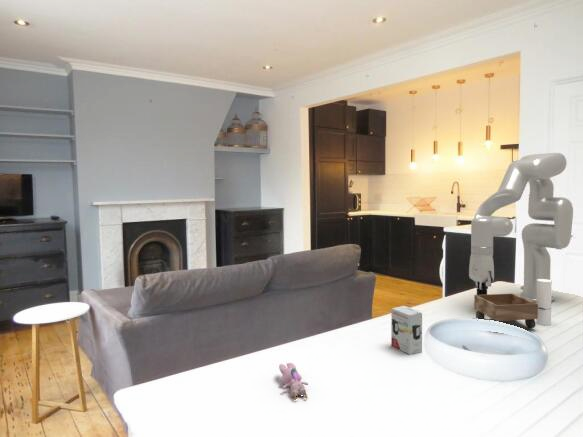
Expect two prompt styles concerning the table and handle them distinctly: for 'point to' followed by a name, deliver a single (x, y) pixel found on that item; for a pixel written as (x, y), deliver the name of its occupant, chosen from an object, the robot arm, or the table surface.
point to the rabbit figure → (292, 380)
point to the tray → (506, 308)
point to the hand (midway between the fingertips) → (481, 299)
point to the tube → (544, 301)
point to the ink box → (406, 329)
